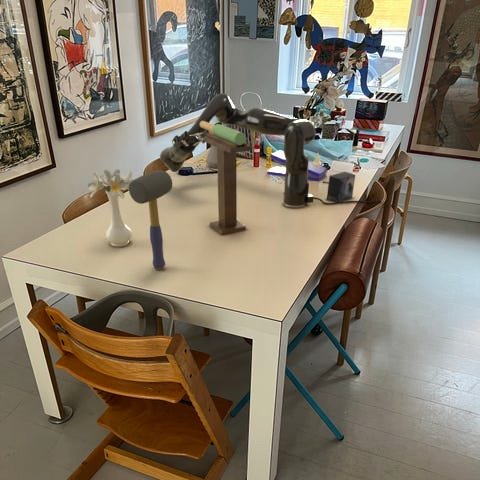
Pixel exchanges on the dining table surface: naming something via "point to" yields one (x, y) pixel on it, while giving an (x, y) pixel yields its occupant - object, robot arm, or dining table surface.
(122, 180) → the flower vase
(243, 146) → the stand
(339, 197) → the small box
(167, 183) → the rubber mallet
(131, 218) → the dining table surface
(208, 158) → the coffee pot
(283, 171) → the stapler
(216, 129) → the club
